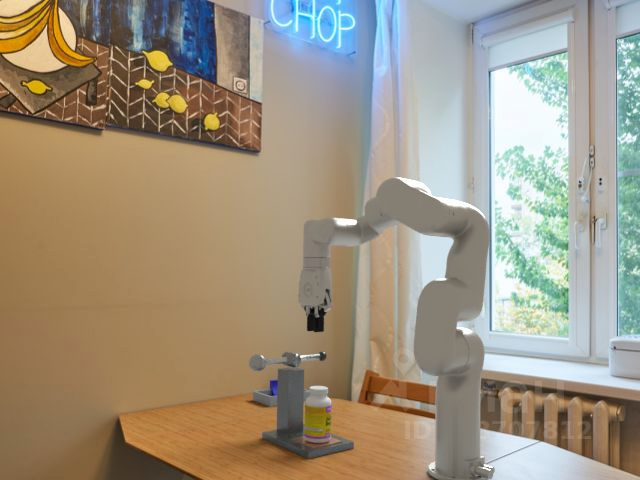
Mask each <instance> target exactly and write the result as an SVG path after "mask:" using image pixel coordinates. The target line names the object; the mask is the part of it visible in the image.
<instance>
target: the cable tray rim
mask: <svg viewBox="0 0 640 480" xmlns="http://www.w3.org/2000/svg"><path fill="white" fill-rule="evenodd" d="M308 397H310V392H309V389H306V388H304V402H305V401H306V399H307V398H308ZM252 401H253V402H256V403H258V404H262V405H264V406H268V407H270V408H271V407H277V396H272V389H270V388H267V389H266V388H265V389H260V390H253V391H252Z"/></svg>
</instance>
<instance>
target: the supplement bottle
mask: <svg viewBox="0 0 640 480" xmlns="http://www.w3.org/2000/svg"><path fill="white" fill-rule="evenodd" d="M308 390H309V392H310V397H308V398H307V399H306V401H304V424H305V432H304V437H305V440H306V441H308V442H312V443H325V442H328V441H329V440H330V439H331V434H332V400H331V398H329V396H328V393H329V387H327V386H323V385H311V386H310V387H308Z"/></svg>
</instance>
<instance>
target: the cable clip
mask: <svg viewBox="0 0 640 480" xmlns="http://www.w3.org/2000/svg"><path fill="white" fill-rule="evenodd" d="M269 389H272V396H277V389H278V379H270V380H269Z"/></svg>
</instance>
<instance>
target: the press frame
mask: <svg viewBox="0 0 640 480" xmlns="http://www.w3.org/2000/svg"><path fill="white" fill-rule="evenodd" d="M277 380H278V389H277V406H276V429H273V430H272V429H271V430H268V431H262V432H261V438H262V439H263V440H265V441H267V442H270V443H272V444H274V445H276V446H279V447H280V448H283V449H285V450H287V451H290V452H292V453H294V454H297V455H299V456H301V457H304V458H305V459H314V458H318V457H319V458H320V457H321V456H326V455H331V454H335V453H339V452H344V451H346V450H351V449H352V450H353V449H354V448H355V442H354V441H352V440H350V439H346V438H344V437H341V436H339V435H337V434H334V433H331V439H330V440H329V441H328V442H325V443H312V442H308V441H306V440H305V437H304V432H305V423H304V409H305V401H304V389H305V368H299V367H291V366H287V367H279V368H277Z"/></svg>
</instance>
